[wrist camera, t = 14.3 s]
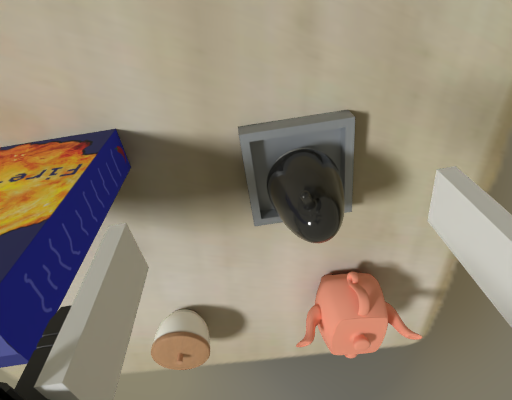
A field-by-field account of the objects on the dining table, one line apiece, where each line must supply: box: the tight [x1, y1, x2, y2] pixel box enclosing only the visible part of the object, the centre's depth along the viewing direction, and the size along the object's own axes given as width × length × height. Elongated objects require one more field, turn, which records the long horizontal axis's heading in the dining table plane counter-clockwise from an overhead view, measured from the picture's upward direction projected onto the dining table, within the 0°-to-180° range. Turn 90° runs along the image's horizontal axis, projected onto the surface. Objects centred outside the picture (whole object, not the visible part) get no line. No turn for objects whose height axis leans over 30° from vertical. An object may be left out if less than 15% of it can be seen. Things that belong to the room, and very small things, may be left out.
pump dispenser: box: [266, 148, 345, 243], centre depth 43 cm, size 10×10×15 cm
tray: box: [238, 110, 355, 226], centre depth 49 cm, size 15×15×3 cm
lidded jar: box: [151, 309, 210, 370], centre depth 64 cm, size 11×11×9 cm
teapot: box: [296, 271, 422, 358], centre depth 61 cm, size 15×17×13 cm
